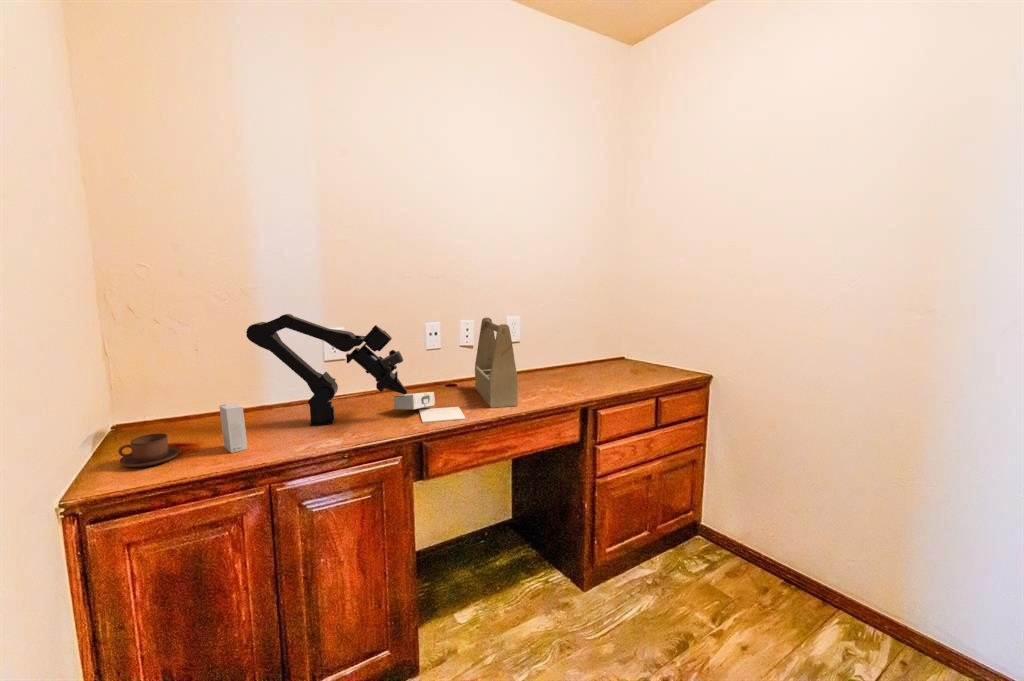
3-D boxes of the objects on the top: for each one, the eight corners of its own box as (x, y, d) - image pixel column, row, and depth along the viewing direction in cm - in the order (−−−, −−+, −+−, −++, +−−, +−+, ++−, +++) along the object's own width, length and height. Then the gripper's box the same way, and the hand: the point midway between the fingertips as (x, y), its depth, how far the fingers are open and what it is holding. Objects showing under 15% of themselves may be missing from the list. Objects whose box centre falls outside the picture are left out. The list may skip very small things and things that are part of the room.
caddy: (474, 389, 193) (473, 317, 189) (499, 387, 196) (499, 316, 191) (489, 408, 165) (489, 324, 161) (518, 406, 168) (518, 323, 163)
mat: (422, 422, 148) (422, 421, 148) (418, 410, 162) (418, 409, 162) (465, 419, 152) (465, 418, 152) (458, 407, 165) (458, 406, 165)
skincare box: (248, 449, 126) (244, 406, 124) (229, 454, 122) (226, 409, 121) (240, 443, 130) (237, 401, 128) (222, 448, 126) (218, 405, 125)
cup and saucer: (126, 476, 109) (123, 451, 108) (116, 462, 117) (113, 439, 116) (186, 460, 118) (184, 437, 117) (173, 449, 126) (171, 427, 125)
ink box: (413, 409, 153) (435, 406, 164) (412, 393, 154) (434, 391, 164) (393, 410, 157) (416, 407, 168) (393, 394, 158) (416, 392, 168)
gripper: (385, 348, 140) (424, 381, 144) (389, 339, 158) (423, 369, 162) (359, 374, 140) (399, 407, 143) (366, 363, 158) (400, 393, 162)
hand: (406, 393), depth 153 cm, fingers closed
